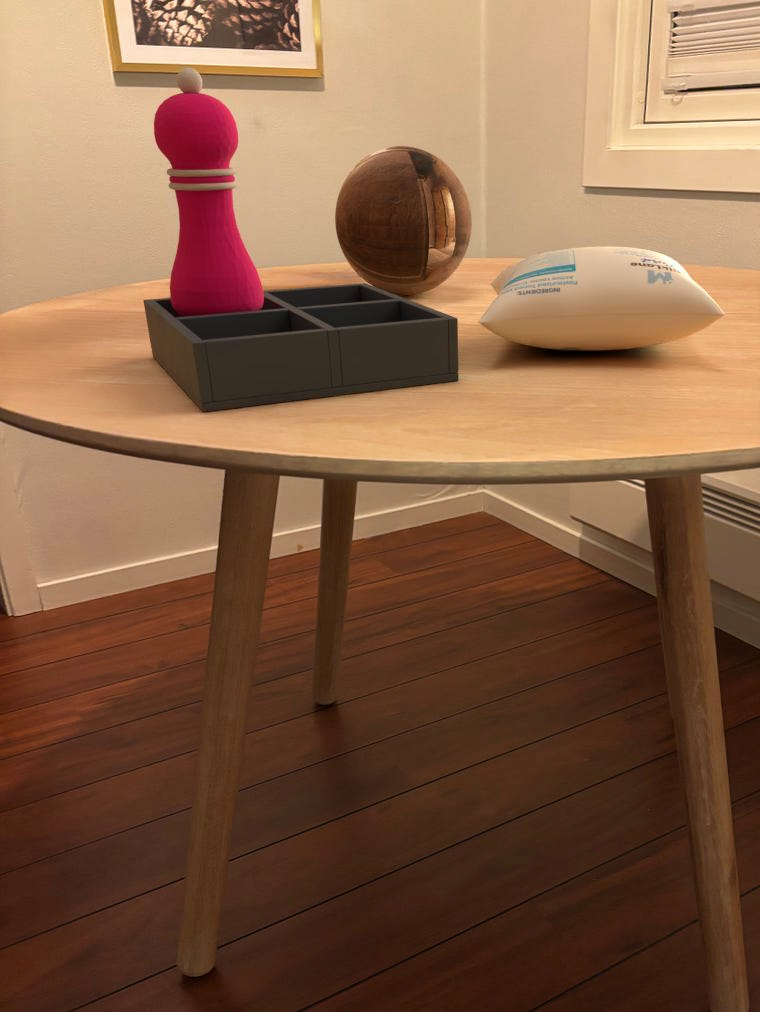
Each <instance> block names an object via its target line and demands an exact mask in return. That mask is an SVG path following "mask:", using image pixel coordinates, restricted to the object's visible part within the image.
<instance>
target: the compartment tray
mask: <svg viewBox="0 0 760 1012" xmlns="http://www.w3.org/2000/svg"><path fill="white" fill-rule="evenodd" d="M263 295H264V303H263V306H262V309H261V310H258V311H247V312H235V313H223V314H211V315H199V316H187V317H180V316H179V315H178V314H177V312H176V311H175V310H174V308H173V307H172V304H171V298H170V297H164V298H149V299H143V306H144V312H145V319H146V324H147V331H148V336H149V343H150V349H151V354H152V355H151V356H152V357H153V359H154V360H155V361H156V362H157V363H158V364H159V365H160V367H162V369H163V370H164V371H165V372H166V373H167V374H168V375H169V376H170V377H171V379H173V380H174V382H175V384H177V386H179V387H180V388H181V389H182V391H183V392H184V393H185V394H186V395H187V396H188V397H189V398H190V399H191V401H193V403H194V404H195V405H196V406H197V408H198V409H199V410H201V412H203V413H206V412H215V411H221V410H222V411H223V410H231V409H239V408H245V407H247V408H249V407H255V406H262V405H272V404H280V403H288V402H295V401H303V400H311V399H312V400H313V399H319V398H327V397H328V398H329V397H337V396H343V395H353V394H359V393H360V394H361V393H370V392H377V391H385V390H392V389H393V390H394V389H400V388H409V387H417V386H425V385H426V386H427V385H434V384H442V383H449V382H457V381H459V380H460V379H459V378H460V377H459V322H458V321H459V319H458V318H457V317H456V316H453V315H450V314H447V313H445V312H442V311H439V310H436V309H434V308H431V307H429V306H427V305H423V304H421V303H418V302H416V301H413V300H411V299H408V298H405V297H402V296H401V295H398V294H392V293H389V292H387V291H384V290H382V289H379V288H376V287H374V286H372V285H371V284H369V283H367V282H366V283H365V282H363V283H349V284H335V285H322V286H307V287H296V288H295V287H293V288H281V289H280V288H279V289H267V290H263Z"/></svg>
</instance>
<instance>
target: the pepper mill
mask: <svg viewBox="0 0 760 1012" xmlns="http://www.w3.org/2000/svg"><path fill="white" fill-rule="evenodd" d="M176 83H177V85H178V86H177V87H178V89H179V90H180V91H181V92H180V93H176V94H173V95H171V96H169V97H167V98H166V99H164V100H163V101H162V102H161V103H160V105H158V107H157V109H156V112H155V114H154V119H153V135H154V140H155V144H156V146H157V148H158V150H159V151H160V152H161V154H162V155H163V156H164V157H165V158H166V159H167V160H168V162H169V164H170V165H171V167H170V168H167V170H166V174H167V175H168V176H169V179H168V180H169V183H168V187H169V189H171V190H174V192H175V198H176V203H177V207H178V220H179V222H178V223H179V229H178V230H179V232H178V241H177V247H176V253H175V256H174V260H173V265H172V268H171V273H170V279H169V280H170V281H169V298H171V304H172V307H173V308H174V310H175V311H176V312H177V314H178V315H179V316H180V317H187V316H199V315H211V314H223V313H235V312H247V311H258V310H261V309H262V306H263V303H264V295H263V291H264V289H263V284H262V281H261V278H260V275H259V273H258V270H257V268H256V266H255V264H254V261H253V260H252V258H251V256H250V255H249V251H248V250H247V248H246V245H245V243H244V242H243V238H242V236H241V234H240V231H239V228H238V225H237V219H236V213H235V209H234V197H233V195H234V194H233V190H234V189H236V188H237V187H238V183H237V182H236V177H235V174H236V169H235V168H234V167H230V164H231V160H232V158H233V157H234V155H235V154H236V152H237V149H238V147H239V131H238V127H237V122H236V119H235V118H234V115H233V114H232V112H231V110H230V108H228V107H227V105H226V104H225V103H223V102H222V101H221V100H220V99H218V98H216V97H214V96H212V95H210V94H206V93H202V92H201V91H202V89H203V78H202V76H201V74H200V73H199V72H198V71H197V69H194V68H192V67H183V68H181V69H180V70H179V71H178V73H177V75H176Z"/></svg>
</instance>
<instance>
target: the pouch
mask: <svg viewBox="0 0 760 1012" xmlns="http://www.w3.org/2000/svg"><path fill="white" fill-rule="evenodd" d="M490 286H491V287H492V289H493V290H494V292H495V293H496V294H497V296H496V297H495V298H494V299H493V301H492V302H491V304H490V305H489V306H488V308H487V309H486V310H485V312H484V313H483V314H482V315H481V317H480V318H479V320H478V322H477V323H478V324H480V325H481V326H483V327H484V328H485V329H487V330H488V331H489V332H491V333H492V334H494V335H496V336H497V337H500V338H502V339H504V340H507V341H510V342H513V343H516V344H520V345H525V346H530V347H534V348H541V349H546V350H555V351H573V352H574V351H579V352H581V351H582V352H584V351H589V352H590V351H595V352H596V351H615V350H629V349H637V348H645V347H652V346H656V345H661V344H665V343H666V344H667V343H669V342H674V341H677V340H680V339H683V338H686V337H689V336H692V335H694V334H696V333H698V332H701V331H702V330H704V329H706V328H707V327H709V326H711V325H712V324H714V323H716V322H717V321H718V320H720V319H722V317H724V316H726V313H725V312H724V310H723V309H721V307H720V306H719V305H718V303H717V302H716V301H715V300H714V299H713V298H712V297H711V296H710V294H709V293H707V292H706V290H704V288H703V287H702V286H700V285H699V284H698V283H697V282H696V281H695V280H693V278H691V276H690V275H689V273H688V272H687V271H686V270H685V269H684V267H683V266H682V265H681V264H680V263H678V262H677V261H676V260H674V259H673V258H671V257H670V256H668V255H665V254H663V253H660V252H658V251H654V250H649V249H644V248H638V247H629V246H582V247H571V248H563V249H556V250H549V251H545V252H541V253H536V254H533V255H530V256H528V257H525V258H523V259H521V260H518V261H516V262H514V263H513V264H511V265H510V266H508V267H506V268H505V269H503V270H502V271H501V272H500V273H499V274H498V275H497V276H496V277H495V279H493V280H492V282H491V283H490Z"/></svg>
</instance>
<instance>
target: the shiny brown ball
mask: <svg viewBox="0 0 760 1012" xmlns="http://www.w3.org/2000/svg"><path fill="white" fill-rule="evenodd" d="M472 221H473V220H472V210H471V205H470V201H469V198H468V195H467V192H466V189H465V188H464V186H463V184H462V182H461V180H460V178H459V177H458V176H457V174H456V173H455V171H454V170H452V168H451V167H450V166H449V165H448V164H446V162H444V161H443V160H442V159H441V158H439V157H438V156H436V155H434V154H433V153H430V152H428V151H426V150H424V149H421V148H418V147H414V146H407V145H406V146H405V145H397V146H389V147H384V148H381V149H378V150H376V151H374V152H372V153H370V154H369V155H367V156H365V157H364V158H363V159H361V160H360V161H359V162H358V163H356V165H355V166H354V167H353V168H352V169H351V170H350V172H349V173H348V175H347V176H346V178H345V179H344V181H343V183H342V184H341V187H340V190H339V193H338V196H337V199H336V204H335V213H334V223H335V224H334V225H335V232H336V236H337V240H338V244H339V247H340V249H341V252H342V254H343V255H344V258H345V260H346V261H347V263H348V265H349V266H350V267H351V268H352V269H353V271H354V272H355V273H356V274H357V275H358V277H360V278H361V279H362V280H363V281H365V282H366V283H367V284H368V285H371V286H374V287H376V288H379V289H382V290H384V291H387V292H389V293H392V294H395V295H397V296H410V295H411V296H412V295H418V294H422V293H426V292H428V291H431V290H433V289H435V288H436V287H439V286H440V285H442V284H443V283H444V282H446V281H447V280H448V279H449V278H450V277H452V275H453V274H454V273H455V272H456V270H457V269H458V268H459V267H460V265H461V263H462V262H463V260H464V257H465V255H466V254H467V252H468V249H469V245H470V241H471V236H472Z"/></svg>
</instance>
